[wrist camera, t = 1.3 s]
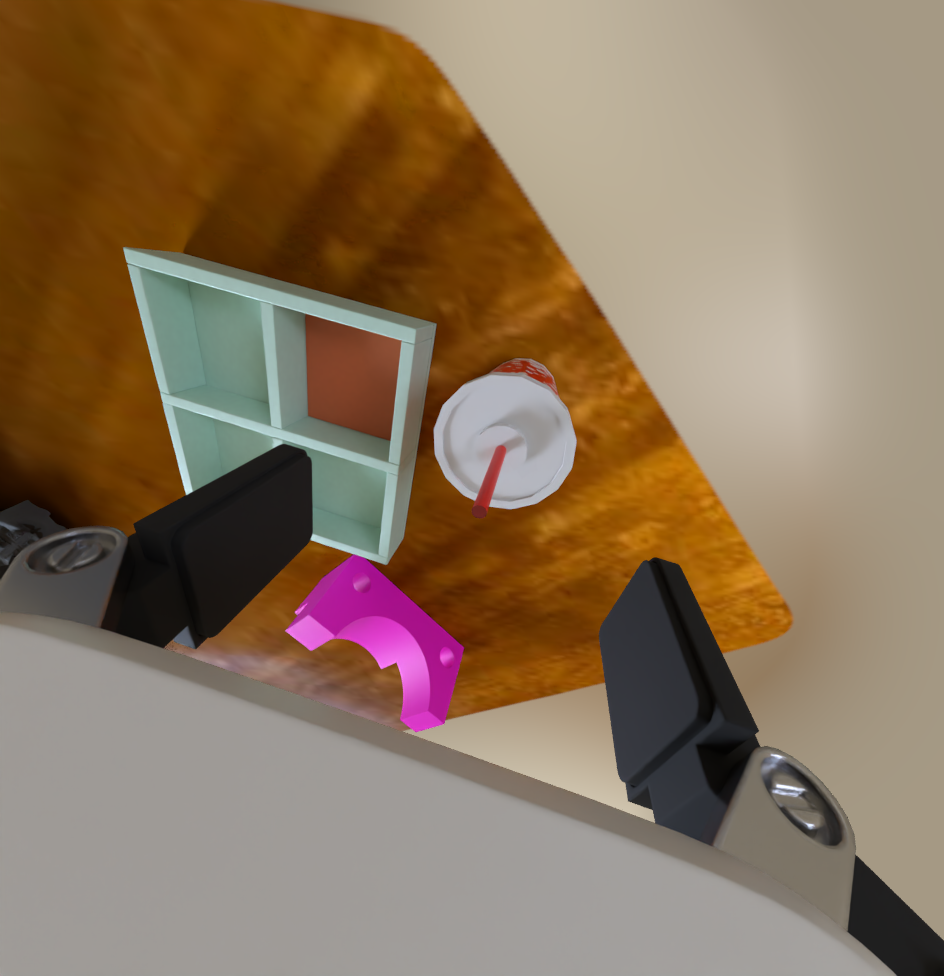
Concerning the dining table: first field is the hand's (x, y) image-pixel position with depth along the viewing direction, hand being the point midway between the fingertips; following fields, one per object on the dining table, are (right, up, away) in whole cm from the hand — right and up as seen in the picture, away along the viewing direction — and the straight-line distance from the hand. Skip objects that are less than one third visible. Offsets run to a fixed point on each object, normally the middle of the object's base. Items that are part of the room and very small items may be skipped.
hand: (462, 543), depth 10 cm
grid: (-12, +7, +17) cm, 22 cm away
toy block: (-8, -11, +26) cm, 30 cm away
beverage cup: (+3, +8, +13) cm, 15 cm away
